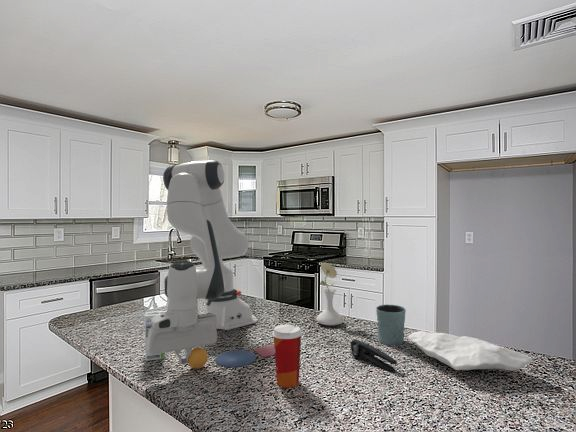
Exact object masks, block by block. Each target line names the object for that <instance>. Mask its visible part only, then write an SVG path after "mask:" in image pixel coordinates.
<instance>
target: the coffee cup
mask: <svg viewBox="0 0 576 432" xmlns="http://www.w3.org/2000/svg"><path fill="white" fill-rule="evenodd" d="M271 335H272V336H273V345H274V350H275V355H274V360H275V363H274V364H275V375H276V384H277V385H278V387H280V388H284V389H291V388H295V387H297V386H298V384H299V380H300V366H301V364H300V362H301V345H302V344H301V342H302V341H301V340H302V335H303V331H302V329H301V327H300V326H296V325H293V324H280V325H277V326H275V327H274V329H273V331H272V334H271Z"/></svg>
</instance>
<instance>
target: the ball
mask: <svg viewBox="0 0 576 432" xmlns="http://www.w3.org/2000/svg"><path fill="white" fill-rule="evenodd" d="M208 358H209V357H208V353H207V351H206V350H205V349H204V348H202V347H194V348H192V352H191V354H190V356H189V358H188V363H187V364H188V365H189V367H190V368H192V369H194V370H198V369H201V368H203V367H204V366H205V365H206V364H207V362H208Z"/></svg>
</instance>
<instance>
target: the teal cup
mask: <svg viewBox="0 0 576 432" xmlns="http://www.w3.org/2000/svg"><path fill="white" fill-rule="evenodd" d="M375 309H376V316H377V317H376V318H377V319H376V320H377V334H378V335H377V336H378V341H379V343H380V344H382V345H385V346H391V347H394V346H395V347H396V346H401V345H403V344H404V337H405V333H404V331H405V322H406V308H405V307H404V306H402V305H397V304H379V305H378V306H376V308H375Z"/></svg>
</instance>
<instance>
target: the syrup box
mask: <svg viewBox="0 0 576 432" xmlns="http://www.w3.org/2000/svg"><path fill="white" fill-rule="evenodd" d="M164 312H165V311H164V310H156V311H146V313H144V343H145V344H144V346H145V348H144V350H145V355H144V356H145V357H144V359H145V362H148V361H155V360H164V359H165V353H161V354H156V355H150V354H149V353H148V351H147V337H148V332H149V329H150V328H151V327H152V324H151V319H152V318H153V317H155V316H157V315H159V314H162V313H164Z"/></svg>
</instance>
